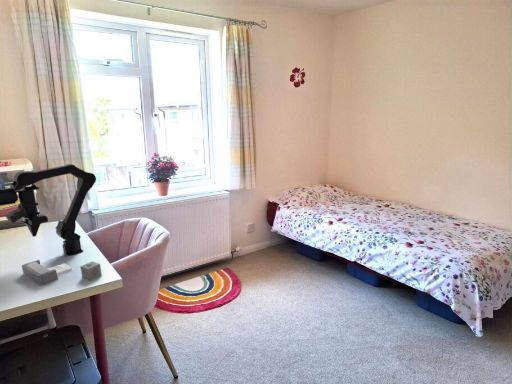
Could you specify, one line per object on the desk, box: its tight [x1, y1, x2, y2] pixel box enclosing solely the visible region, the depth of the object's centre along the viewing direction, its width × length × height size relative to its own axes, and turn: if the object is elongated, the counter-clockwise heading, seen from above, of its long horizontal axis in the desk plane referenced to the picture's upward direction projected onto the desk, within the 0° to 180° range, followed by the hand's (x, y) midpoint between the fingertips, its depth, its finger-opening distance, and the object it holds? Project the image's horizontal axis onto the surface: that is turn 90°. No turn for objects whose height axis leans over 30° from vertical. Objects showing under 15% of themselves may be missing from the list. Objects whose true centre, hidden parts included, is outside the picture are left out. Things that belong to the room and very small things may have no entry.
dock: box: [21, 259, 58, 287], centre depth 136 cm, size 6×17×4 cm, turn 52°
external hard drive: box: [47, 263, 73, 276], centre depth 139 cm, size 2×8×12 cm
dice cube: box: [79, 261, 102, 281], centre depth 134 cm, size 5×5×5 cm
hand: (34, 236), depth 148 cm, fingers closed
